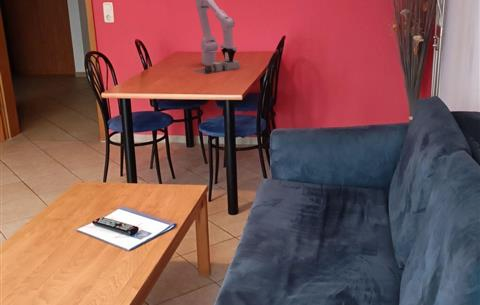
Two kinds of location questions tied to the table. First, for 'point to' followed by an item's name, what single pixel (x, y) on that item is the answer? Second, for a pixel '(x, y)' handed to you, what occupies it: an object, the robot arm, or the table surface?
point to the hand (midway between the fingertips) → (228, 60)
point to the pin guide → (217, 66)
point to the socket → (230, 65)
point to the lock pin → (209, 68)
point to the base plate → (211, 72)
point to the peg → (227, 57)
